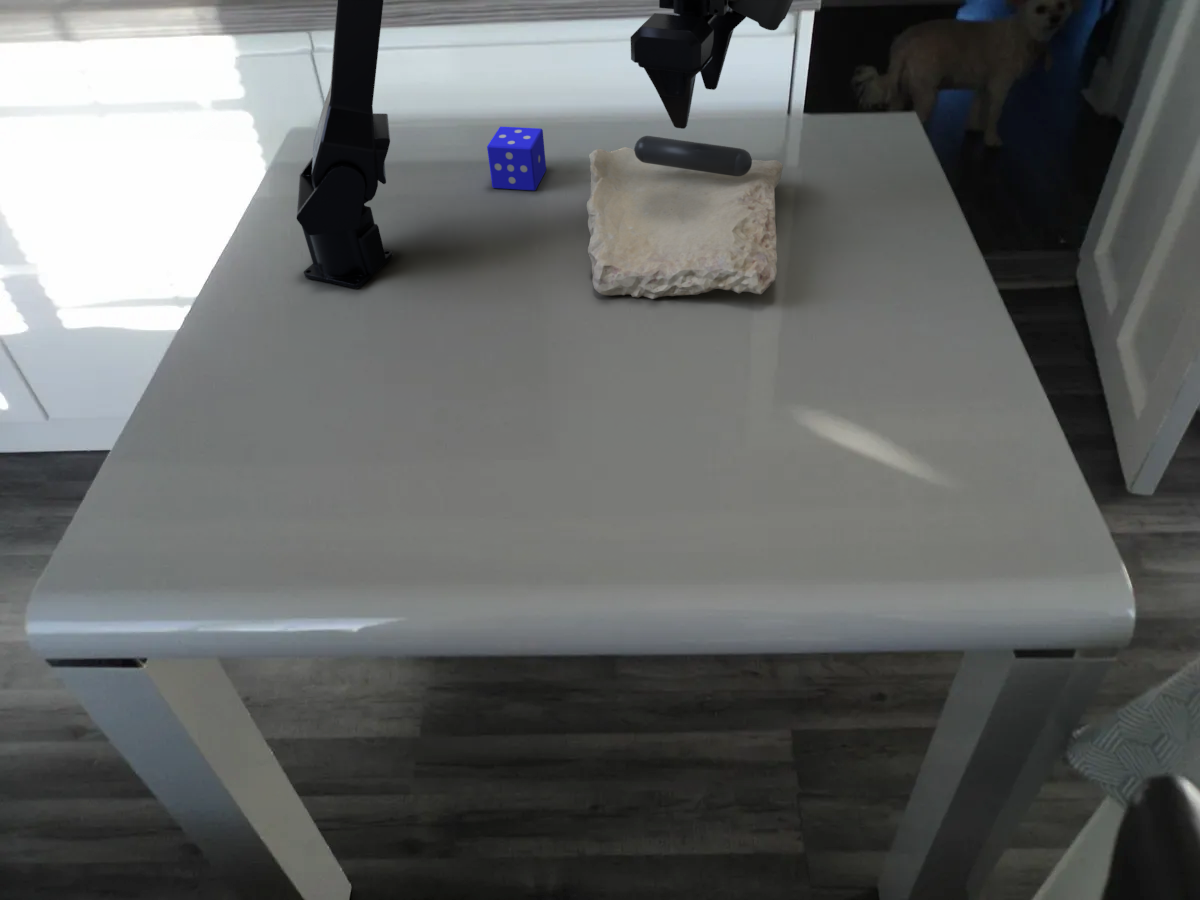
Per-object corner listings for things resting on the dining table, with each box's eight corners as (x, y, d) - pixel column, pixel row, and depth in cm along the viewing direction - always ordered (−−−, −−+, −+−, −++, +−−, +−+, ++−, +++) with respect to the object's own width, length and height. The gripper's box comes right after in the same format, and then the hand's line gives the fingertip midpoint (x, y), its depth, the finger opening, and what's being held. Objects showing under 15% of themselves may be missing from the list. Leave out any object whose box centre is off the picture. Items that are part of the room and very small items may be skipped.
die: (535, 191, 100) (531, 148, 97) (492, 188, 101) (486, 145, 97) (546, 170, 104) (542, 128, 100) (504, 167, 104) (499, 125, 101)
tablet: (559, 303, 85) (775, 303, 81) (546, 231, 81) (775, 226, 76) (610, 188, 103) (789, 183, 98) (601, 123, 98) (790, 114, 94)
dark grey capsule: (633, 166, 92) (628, 148, 89) (641, 146, 93) (637, 128, 90) (748, 183, 88) (747, 165, 86) (755, 163, 89) (754, 144, 87)
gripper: (765, -37, 67) (751, 162, 78) (822, -100, 79) (803, 79, 90) (625, -47, 71) (630, 145, 81) (700, -106, 83) (696, 67, 94)
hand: (696, 107), depth 86 cm, fingers open, 9 cm apart
